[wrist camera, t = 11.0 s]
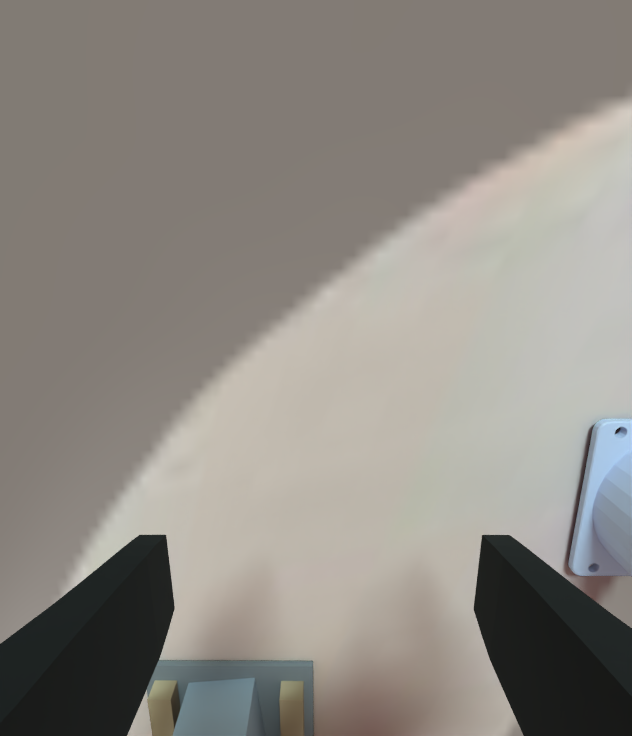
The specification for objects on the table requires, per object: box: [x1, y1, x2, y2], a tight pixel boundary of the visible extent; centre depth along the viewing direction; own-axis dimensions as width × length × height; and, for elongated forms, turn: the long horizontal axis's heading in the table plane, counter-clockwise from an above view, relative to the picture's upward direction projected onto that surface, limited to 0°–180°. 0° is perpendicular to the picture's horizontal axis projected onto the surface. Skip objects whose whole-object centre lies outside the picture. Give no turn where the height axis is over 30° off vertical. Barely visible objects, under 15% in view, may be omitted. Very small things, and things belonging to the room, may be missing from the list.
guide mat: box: [147, 661, 314, 736], centre depth 23 cm, size 9×10×1 cm
